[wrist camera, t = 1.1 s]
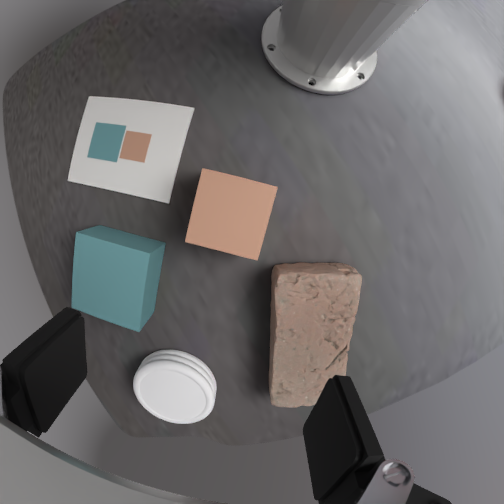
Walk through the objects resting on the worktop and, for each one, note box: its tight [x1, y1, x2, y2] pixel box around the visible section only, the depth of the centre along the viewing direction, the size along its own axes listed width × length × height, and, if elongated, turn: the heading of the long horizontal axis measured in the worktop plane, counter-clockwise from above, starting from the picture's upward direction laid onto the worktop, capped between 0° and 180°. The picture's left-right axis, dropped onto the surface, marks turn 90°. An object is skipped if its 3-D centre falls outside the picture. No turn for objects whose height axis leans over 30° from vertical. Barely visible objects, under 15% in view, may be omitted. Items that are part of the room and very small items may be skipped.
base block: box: [72, 225, 166, 332], centre depth 27 cm, size 8×8×5 cm
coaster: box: [133, 349, 217, 424], centre depth 31 cm, size 10×10×4 cm
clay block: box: [185, 168, 278, 260], centre depth 25 cm, size 6×6×6 cm
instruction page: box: [68, 96, 195, 204], centre depth 26 cm, size 10×13×1 cm
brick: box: [269, 262, 362, 408], centre depth 29 cm, size 17×8×5 cm, turn 0°
